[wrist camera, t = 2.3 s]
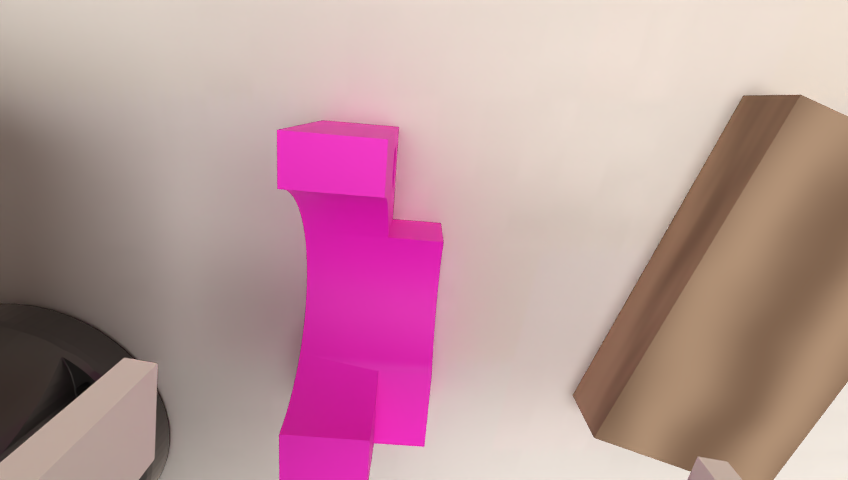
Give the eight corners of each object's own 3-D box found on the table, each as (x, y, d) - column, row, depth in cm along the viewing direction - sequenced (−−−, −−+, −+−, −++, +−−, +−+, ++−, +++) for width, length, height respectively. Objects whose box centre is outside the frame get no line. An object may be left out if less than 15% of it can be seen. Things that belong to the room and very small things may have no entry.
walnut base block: (570, 390, 28) (594, 437, 24) (737, 95, 23) (800, 94, 19) (716, 443, 29) (760, 495, 25) (905, 171, 24) (996, 185, 20)
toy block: (424, 392, 27) (424, 496, 20) (317, 384, 27) (279, 486, 20) (449, 131, 23) (461, 145, 16) (323, 120, 23) (276, 129, 16)
